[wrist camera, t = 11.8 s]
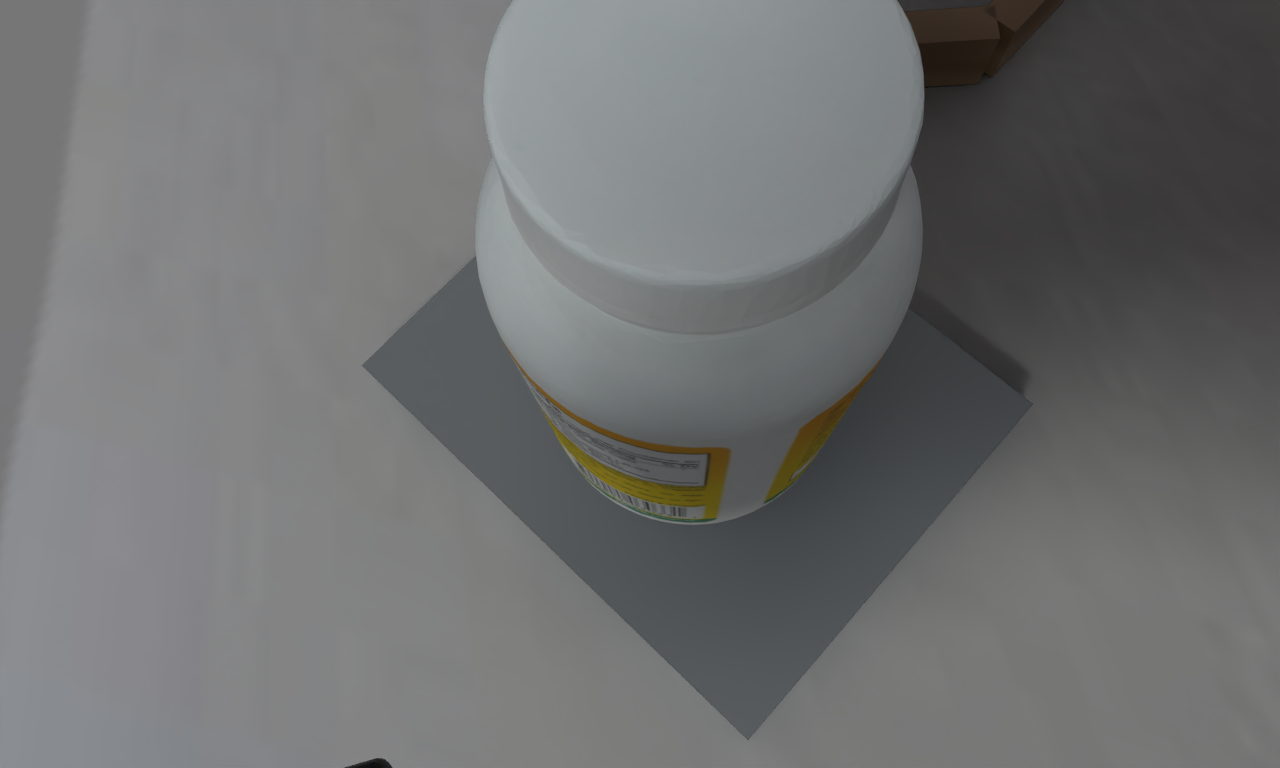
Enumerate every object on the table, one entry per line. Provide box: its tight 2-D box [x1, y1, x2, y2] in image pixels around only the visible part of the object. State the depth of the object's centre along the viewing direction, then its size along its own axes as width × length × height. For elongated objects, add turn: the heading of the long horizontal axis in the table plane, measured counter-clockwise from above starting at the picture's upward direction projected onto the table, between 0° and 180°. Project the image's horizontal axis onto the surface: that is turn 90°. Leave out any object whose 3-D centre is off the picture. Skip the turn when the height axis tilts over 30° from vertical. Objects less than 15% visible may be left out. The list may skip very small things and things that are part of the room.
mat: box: [362, 256, 1033, 740], centre depth 18 cm, size 10×8×1 cm
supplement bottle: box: [475, 0, 924, 525], centre depth 13 cm, size 5×5×10 cm
